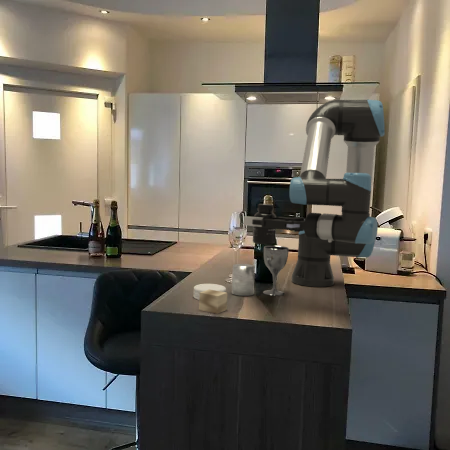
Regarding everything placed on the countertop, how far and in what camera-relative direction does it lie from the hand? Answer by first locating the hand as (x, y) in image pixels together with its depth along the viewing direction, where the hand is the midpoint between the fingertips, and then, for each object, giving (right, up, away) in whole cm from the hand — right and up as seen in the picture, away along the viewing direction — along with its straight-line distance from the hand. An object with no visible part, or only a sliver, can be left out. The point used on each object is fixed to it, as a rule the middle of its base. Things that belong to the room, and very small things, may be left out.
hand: (250, 220), depth 153 cm
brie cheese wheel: (-13, -24, -2) cm, 27 cm away
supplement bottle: (+4, -7, -2) cm, 9 cm away
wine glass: (+8, -24, +7) cm, 26 cm away
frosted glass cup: (-2, -24, +4) cm, 24 cm away
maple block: (-11, -25, -16) cm, 32 cm away
